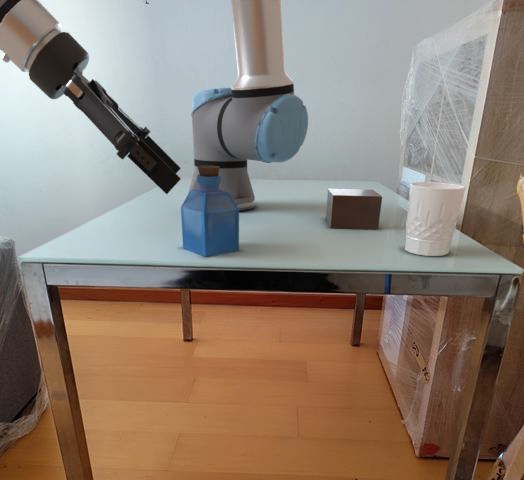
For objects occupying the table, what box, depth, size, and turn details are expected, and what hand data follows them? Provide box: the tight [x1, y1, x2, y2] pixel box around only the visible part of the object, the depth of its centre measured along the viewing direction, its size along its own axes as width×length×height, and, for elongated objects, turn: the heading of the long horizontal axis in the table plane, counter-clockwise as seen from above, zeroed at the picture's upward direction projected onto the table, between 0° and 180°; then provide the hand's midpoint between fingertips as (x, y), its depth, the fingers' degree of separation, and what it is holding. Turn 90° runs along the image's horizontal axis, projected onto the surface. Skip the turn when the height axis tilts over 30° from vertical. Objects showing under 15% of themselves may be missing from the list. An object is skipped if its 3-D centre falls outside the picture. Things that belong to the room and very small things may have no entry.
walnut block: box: [325, 188, 383, 230], centre depth 92 cm, size 9×9×6 cm
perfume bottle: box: [180, 166, 240, 258], centre depth 71 cm, size 6×6×12 cm
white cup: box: [404, 181, 466, 257], centre depth 73 cm, size 8×8×10 cm
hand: (174, 180), depth 68 cm, fingers open, 13 cm apart
